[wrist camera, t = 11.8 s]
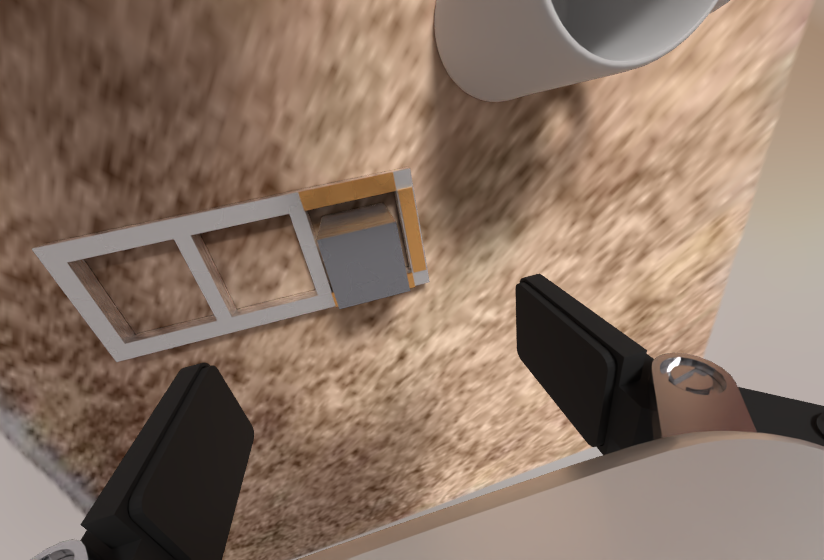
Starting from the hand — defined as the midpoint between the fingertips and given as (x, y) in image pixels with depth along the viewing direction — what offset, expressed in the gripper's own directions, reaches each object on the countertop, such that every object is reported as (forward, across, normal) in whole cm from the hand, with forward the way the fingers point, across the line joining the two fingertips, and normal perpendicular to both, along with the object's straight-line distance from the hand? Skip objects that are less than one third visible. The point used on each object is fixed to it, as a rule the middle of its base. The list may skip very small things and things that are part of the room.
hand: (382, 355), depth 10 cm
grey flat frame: (+15, +7, +1) cm, 17 cm away
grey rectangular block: (+15, 0, +1) cm, 15 cm away
